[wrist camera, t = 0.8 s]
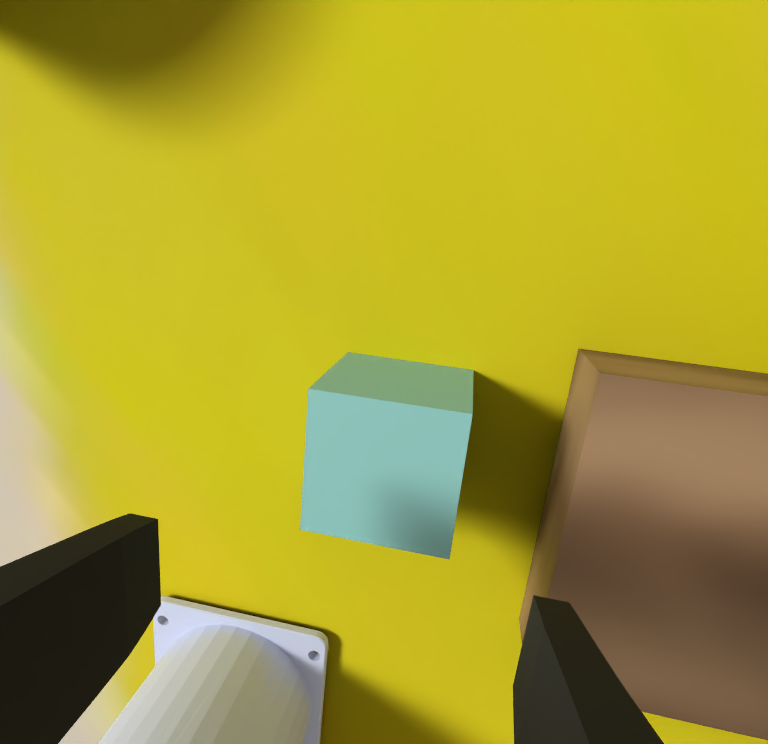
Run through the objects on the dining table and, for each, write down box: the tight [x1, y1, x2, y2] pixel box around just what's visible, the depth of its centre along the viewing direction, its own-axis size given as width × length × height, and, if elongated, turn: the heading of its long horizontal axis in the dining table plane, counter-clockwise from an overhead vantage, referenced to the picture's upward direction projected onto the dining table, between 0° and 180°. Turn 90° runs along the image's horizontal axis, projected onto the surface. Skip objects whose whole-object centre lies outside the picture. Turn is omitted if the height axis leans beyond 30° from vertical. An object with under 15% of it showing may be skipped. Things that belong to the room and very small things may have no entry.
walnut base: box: [519, 349, 768, 740], centre depth 16 cm, size 11×11×3 cm
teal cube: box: [300, 352, 474, 559], centre depth 16 cm, size 4×4×4 cm
